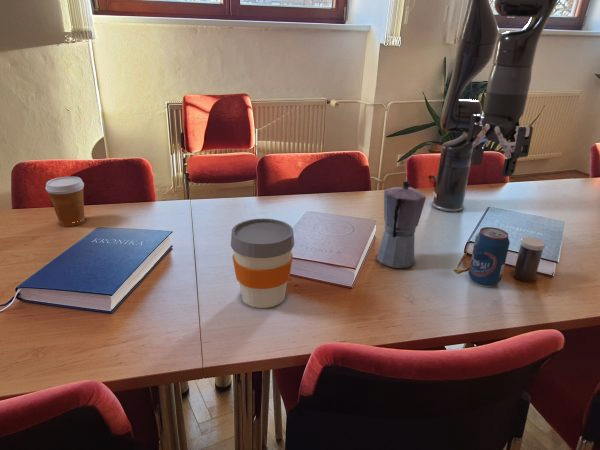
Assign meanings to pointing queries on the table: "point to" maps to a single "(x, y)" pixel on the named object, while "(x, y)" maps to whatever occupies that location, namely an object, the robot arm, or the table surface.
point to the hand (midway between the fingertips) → (490, 170)
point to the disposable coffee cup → (67, 199)
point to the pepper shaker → (528, 259)
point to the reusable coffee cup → (262, 260)
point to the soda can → (489, 256)
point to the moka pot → (400, 225)
